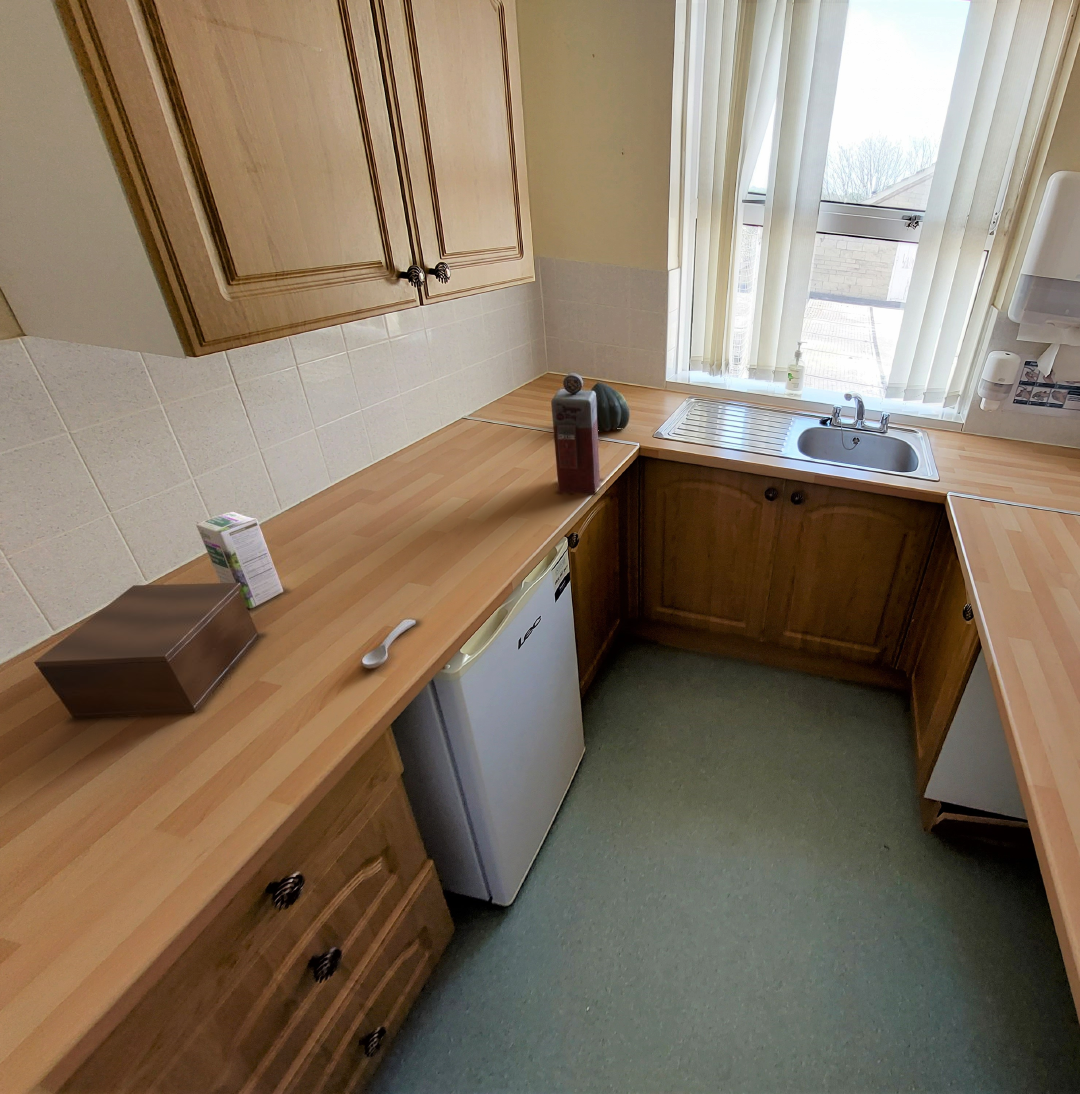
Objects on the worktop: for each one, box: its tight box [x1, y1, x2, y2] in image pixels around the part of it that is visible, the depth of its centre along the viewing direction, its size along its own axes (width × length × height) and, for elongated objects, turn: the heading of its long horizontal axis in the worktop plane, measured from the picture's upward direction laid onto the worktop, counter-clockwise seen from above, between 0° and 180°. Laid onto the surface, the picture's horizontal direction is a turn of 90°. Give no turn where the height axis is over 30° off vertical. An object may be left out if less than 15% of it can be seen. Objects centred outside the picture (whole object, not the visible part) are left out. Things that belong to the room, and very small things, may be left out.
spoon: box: [361, 618, 416, 669], centre depth 88 cm, size 3×12×2 cm, turn 178°
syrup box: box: [195, 511, 284, 609], centre depth 93 cm, size 6×6×14 cm
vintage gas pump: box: [550, 372, 601, 495], centre depth 136 cm, size 9×11×28 cm
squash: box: [589, 381, 631, 433], centre depth 180 cm, size 14×15×15 cm
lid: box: [33, 582, 242, 668], centre depth 76 cm, size 16×14×1 cm
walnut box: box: [37, 591, 260, 720], centre depth 78 cm, size 16×14×9 cm
